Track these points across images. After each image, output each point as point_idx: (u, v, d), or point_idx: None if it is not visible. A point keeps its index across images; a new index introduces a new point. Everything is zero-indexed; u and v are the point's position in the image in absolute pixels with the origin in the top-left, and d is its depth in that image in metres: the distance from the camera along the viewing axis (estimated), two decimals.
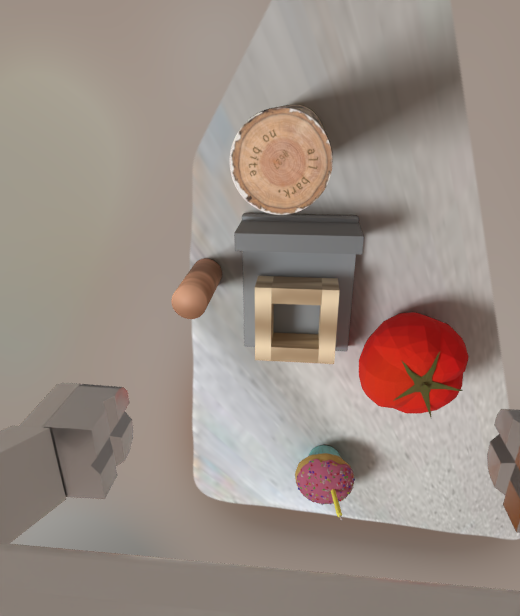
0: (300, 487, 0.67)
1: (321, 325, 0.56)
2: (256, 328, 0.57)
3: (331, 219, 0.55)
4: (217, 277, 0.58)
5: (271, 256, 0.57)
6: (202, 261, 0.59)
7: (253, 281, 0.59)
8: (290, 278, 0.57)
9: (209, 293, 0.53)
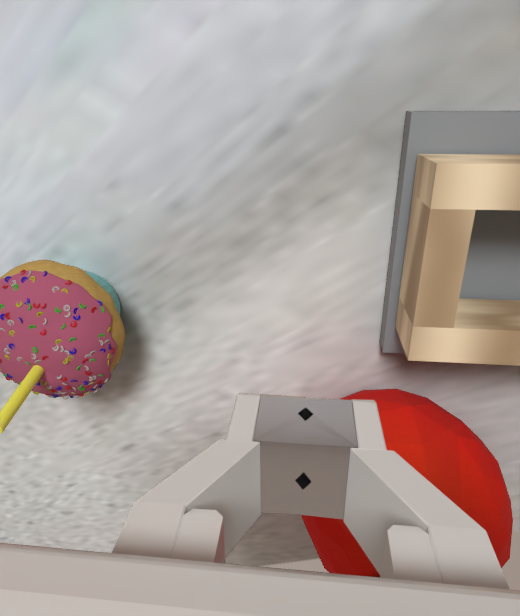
0: (15, 285, 0.25)
1: None
2: None
3: None
4: None
5: None
6: None
7: None
8: None
9: None
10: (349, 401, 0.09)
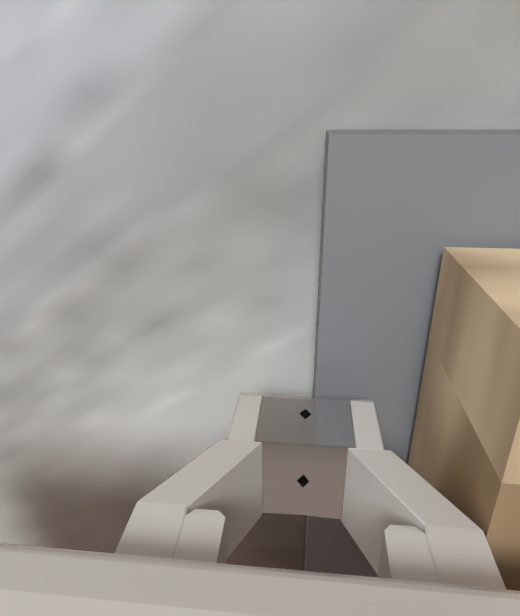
0: None
1: None
2: None
3: None
4: None
5: None
6: None
7: None
8: None
9: None
10: (346, 401, 0.09)
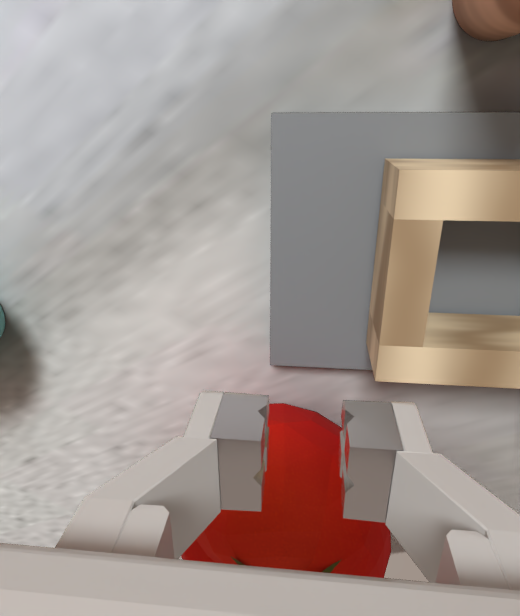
0: None
1: (496, 353, 0.21)
2: (517, 175, 0.18)
3: None
4: None
5: None
6: None
7: (474, 143, 0.22)
8: None
9: None
10: (388, 403, 0.09)
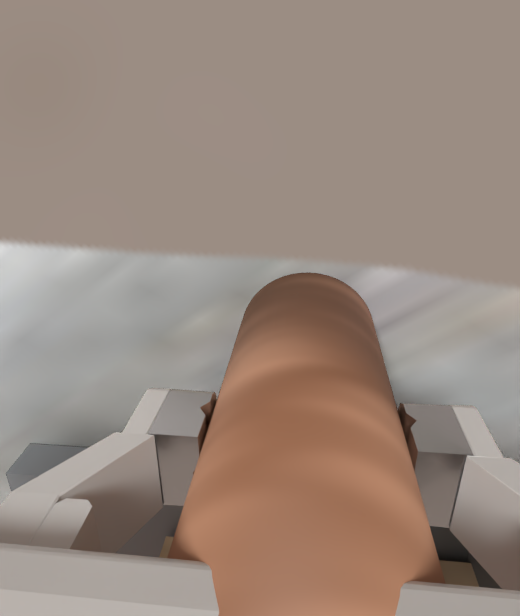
0: None
1: None
2: None
3: None
4: None
5: None
6: None
7: None
8: None
9: None
10: (448, 406, 0.09)
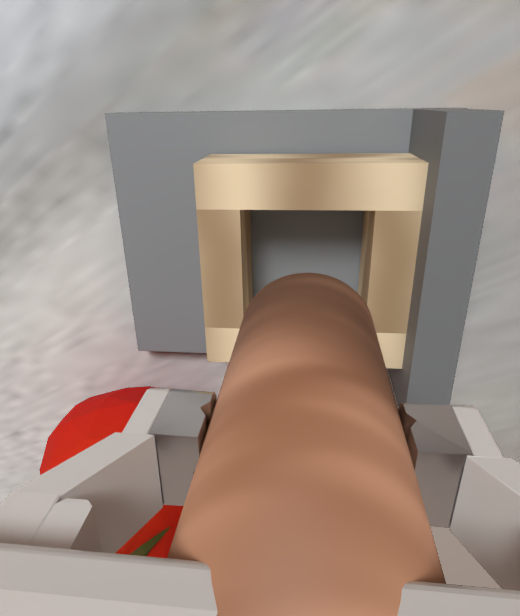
0: None
1: None
2: (296, 167, 0.20)
3: None
4: None
5: None
6: None
7: (290, 139, 0.23)
8: None
9: None
10: (448, 407, 0.09)
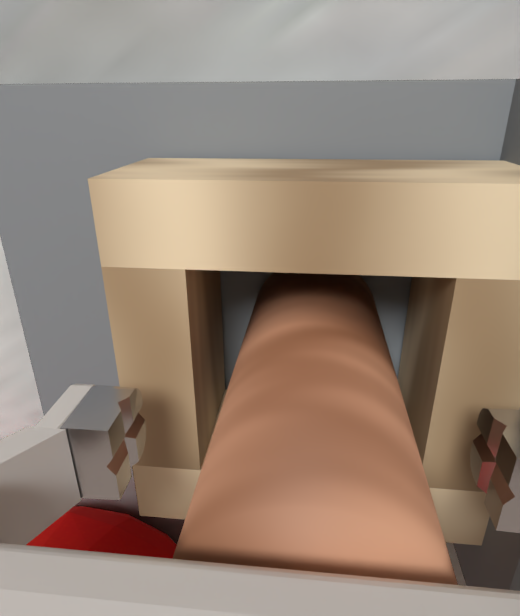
0: None
1: None
2: (298, 190, 0.10)
3: None
4: None
5: None
6: None
7: (288, 133, 0.13)
8: None
9: None
10: None
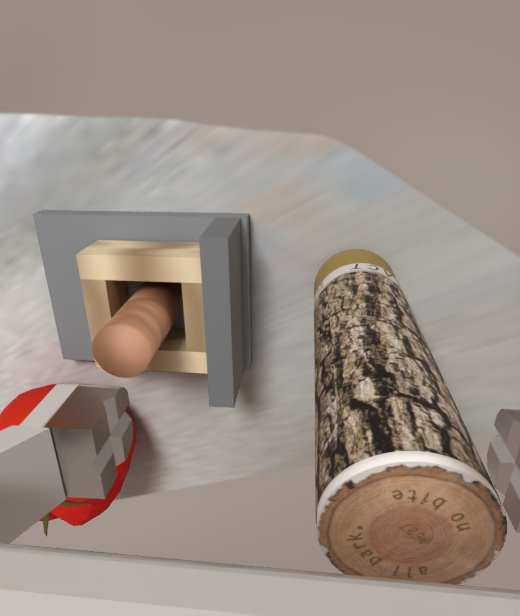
0: None
1: None
2: (134, 258, 0.34)
3: (247, 337, 0.41)
4: None
5: None
6: (182, 298, 0.39)
7: (146, 232, 0.38)
8: None
9: None
10: None
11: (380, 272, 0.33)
